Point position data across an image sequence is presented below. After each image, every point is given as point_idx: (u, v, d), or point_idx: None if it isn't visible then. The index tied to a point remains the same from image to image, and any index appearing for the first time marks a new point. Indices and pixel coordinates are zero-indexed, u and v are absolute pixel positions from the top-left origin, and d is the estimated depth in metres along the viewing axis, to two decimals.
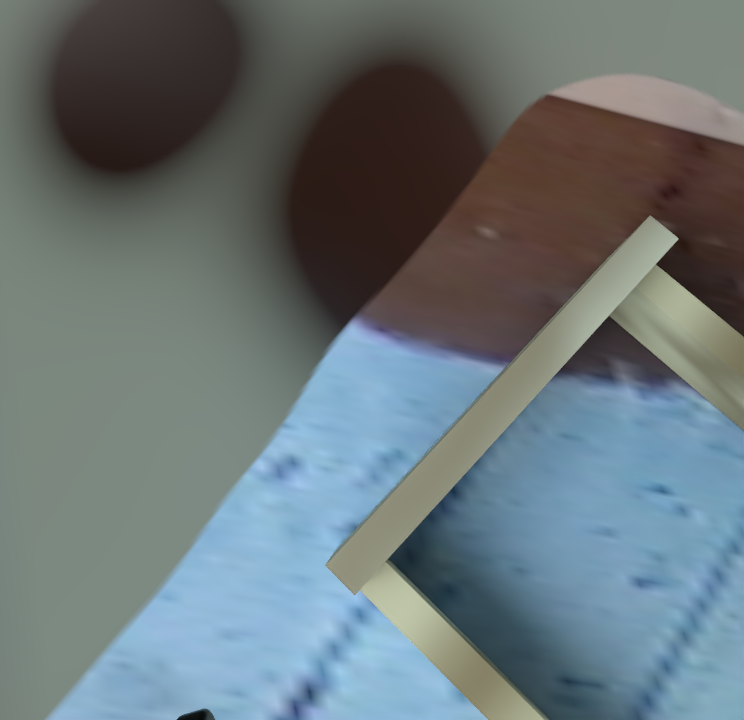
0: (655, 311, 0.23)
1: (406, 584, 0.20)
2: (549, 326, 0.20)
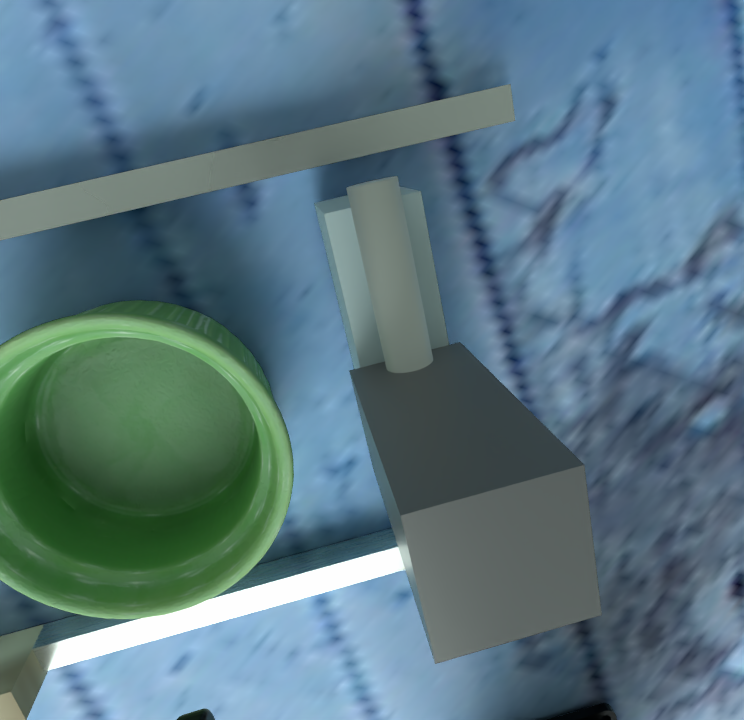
0: None
1: None
2: None
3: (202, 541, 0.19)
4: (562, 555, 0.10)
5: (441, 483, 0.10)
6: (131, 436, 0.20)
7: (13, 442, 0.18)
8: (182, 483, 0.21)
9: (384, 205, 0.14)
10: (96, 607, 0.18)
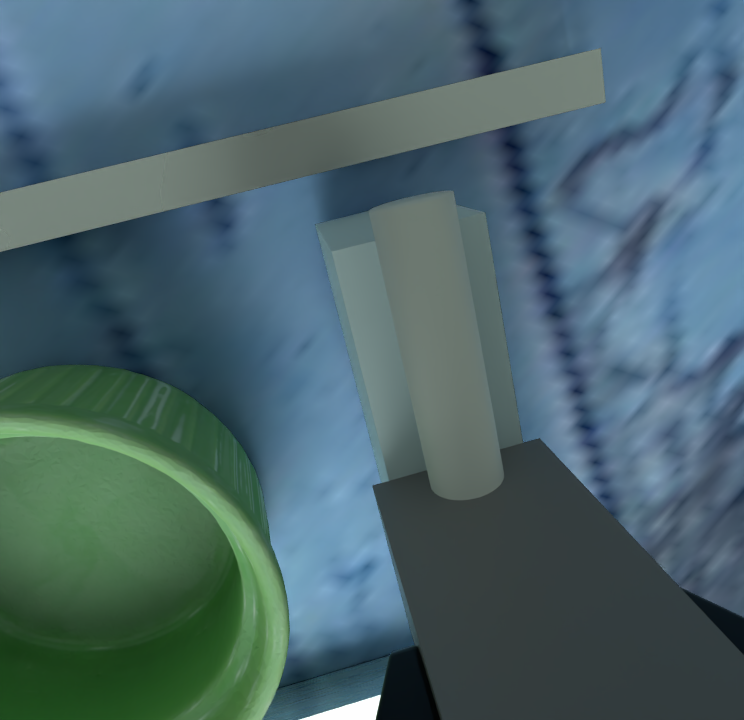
0: None
1: None
2: None
3: (163, 701, 0.14)
4: None
5: None
6: (65, 549, 0.14)
7: None
8: (139, 605, 0.15)
9: (434, 241, 0.08)
10: None
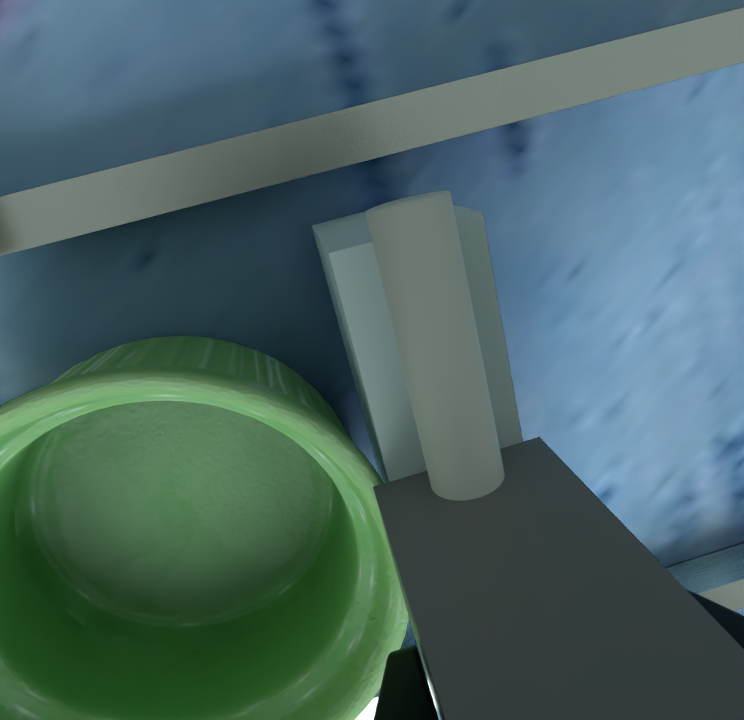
0: None
1: None
2: None
3: (266, 675, 0.14)
4: None
5: None
6: (163, 522, 0.14)
7: None
8: (231, 582, 0.15)
9: (431, 241, 0.08)
10: None
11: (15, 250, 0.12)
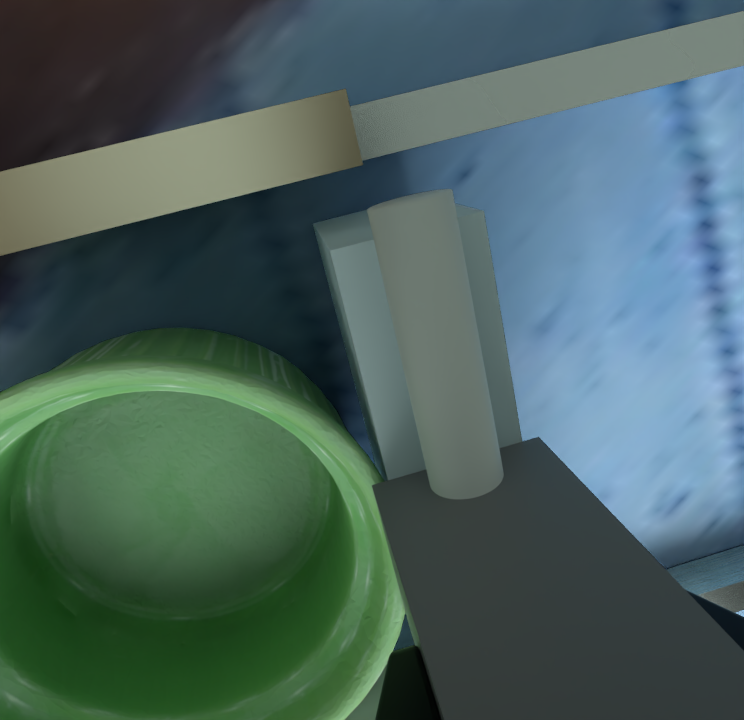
0: None
1: None
2: None
3: (257, 671, 0.14)
4: None
5: None
6: (159, 514, 0.14)
7: None
8: (225, 576, 0.15)
9: (434, 240, 0.08)
10: None
11: (381, 154, 0.12)
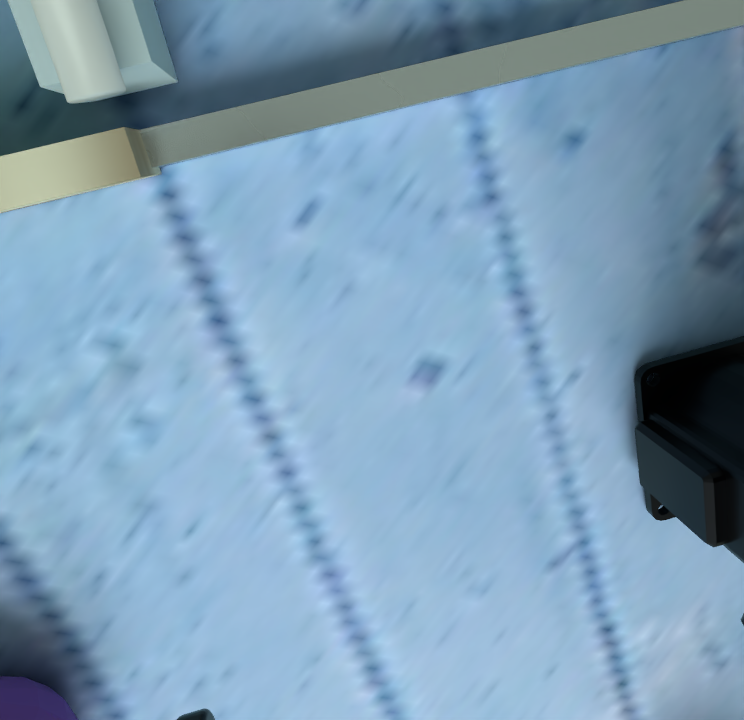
0: None
1: None
2: None
3: None
4: None
5: None
6: None
7: None
8: None
9: None
10: None
11: None
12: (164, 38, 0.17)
